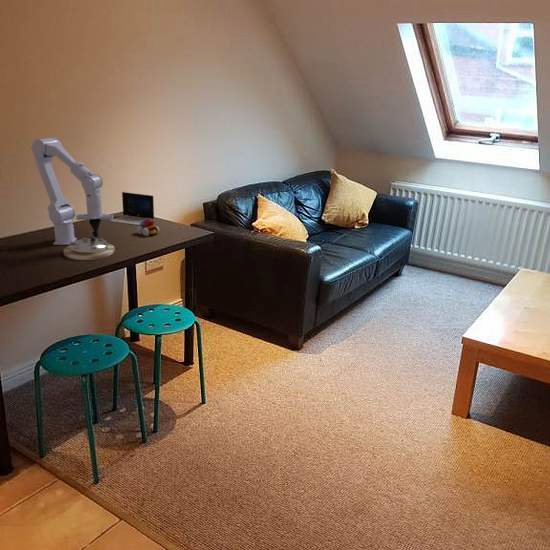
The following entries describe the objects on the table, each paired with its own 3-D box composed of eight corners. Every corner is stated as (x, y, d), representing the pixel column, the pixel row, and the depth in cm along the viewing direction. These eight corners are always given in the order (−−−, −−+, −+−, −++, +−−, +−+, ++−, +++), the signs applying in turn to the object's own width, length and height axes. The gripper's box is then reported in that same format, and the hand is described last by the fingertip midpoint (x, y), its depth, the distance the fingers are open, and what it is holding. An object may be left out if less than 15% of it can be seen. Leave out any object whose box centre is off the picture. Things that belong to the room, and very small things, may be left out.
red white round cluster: (147, 238, 249) (147, 222, 246) (133, 233, 254) (133, 218, 252) (161, 234, 255) (161, 219, 253) (148, 230, 261) (147, 215, 258)
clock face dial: (64, 253, 218) (63, 240, 216) (76, 242, 232) (74, 230, 230) (103, 254, 218) (102, 241, 216) (112, 243, 232) (111, 231, 231)
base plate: (69, 245, 234) (69, 241, 233) (118, 245, 236) (117, 241, 236) (58, 260, 215) (58, 256, 214) (110, 260, 218) (110, 256, 217)
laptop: (109, 222, 272) (107, 196, 268) (123, 216, 284) (122, 191, 279) (141, 226, 267) (140, 200, 263) (154, 220, 279) (153, 195, 274)
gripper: (73, 206, 220) (76, 239, 225) (110, 207, 222) (112, 239, 226) (77, 202, 227) (80, 234, 232) (113, 203, 228) (115, 234, 233)
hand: (96, 236), depth 229 cm, fingers closed, pressing on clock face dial
